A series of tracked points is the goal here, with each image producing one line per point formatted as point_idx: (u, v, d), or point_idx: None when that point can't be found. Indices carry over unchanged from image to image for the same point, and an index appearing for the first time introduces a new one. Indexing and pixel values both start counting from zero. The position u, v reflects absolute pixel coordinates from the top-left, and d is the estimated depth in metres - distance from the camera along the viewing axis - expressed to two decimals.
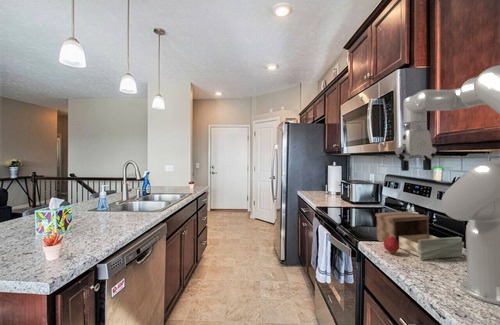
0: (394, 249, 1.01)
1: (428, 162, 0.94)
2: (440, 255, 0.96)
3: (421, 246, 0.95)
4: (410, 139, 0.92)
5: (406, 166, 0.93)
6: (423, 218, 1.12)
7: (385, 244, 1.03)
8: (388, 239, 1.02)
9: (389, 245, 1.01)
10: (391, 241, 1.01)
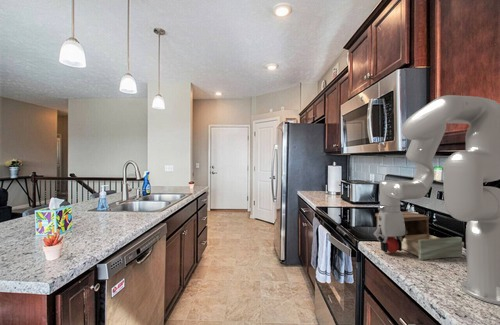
0: (394, 249, 1.01)
1: (399, 243, 1.03)
2: (440, 255, 0.96)
3: (421, 246, 0.95)
4: (385, 222, 1.00)
5: (385, 248, 1.02)
6: (423, 218, 1.12)
7: None
8: (388, 239, 1.02)
9: (389, 245, 1.01)
10: (391, 241, 1.01)
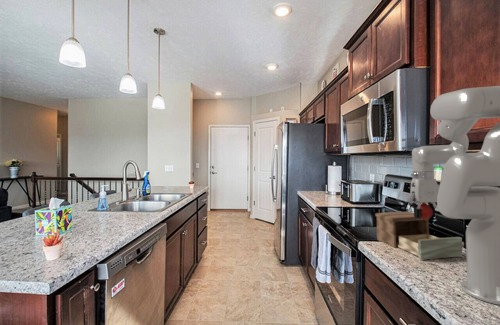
0: (428, 215, 1.01)
1: None
2: (440, 255, 0.96)
3: (421, 246, 0.95)
4: (419, 188, 1.01)
5: (419, 214, 1.02)
6: None
7: None
8: (422, 206, 1.03)
9: (423, 211, 1.01)
10: (425, 207, 1.02)
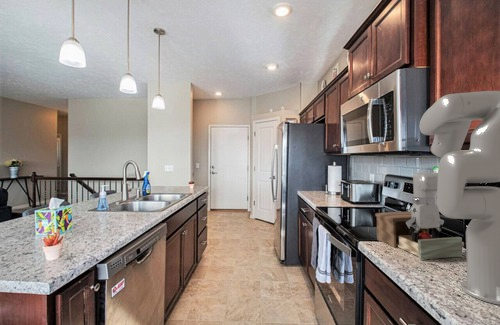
0: None
1: (436, 233, 1.03)
2: (440, 255, 0.96)
3: (421, 246, 0.95)
4: (420, 214, 1.01)
5: (416, 238, 1.02)
6: None
7: None
8: (423, 235, 1.02)
9: None
10: (425, 237, 1.01)
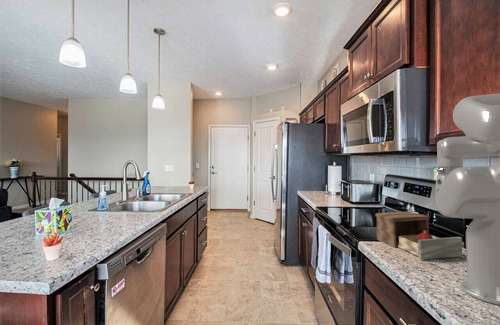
0: None
1: None
2: (440, 255, 0.96)
3: (421, 246, 0.95)
4: None
5: None
6: (423, 218, 1.12)
7: None
8: (423, 235, 1.02)
9: None
10: (426, 237, 1.01)
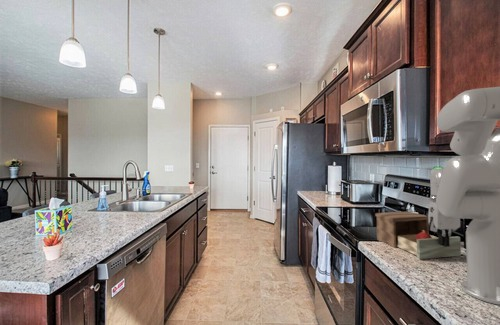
0: None
1: None
2: (438, 254, 0.96)
3: (420, 245, 0.96)
4: (438, 214, 0.92)
5: (444, 242, 0.94)
6: (423, 218, 1.12)
7: None
8: (422, 235, 1.03)
9: None
10: (424, 237, 1.02)
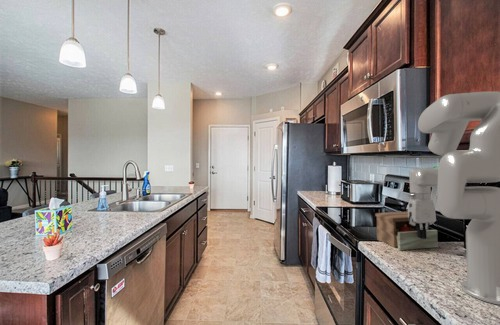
0: None
1: None
2: (417, 245, 1.07)
3: (400, 238, 1.06)
4: (416, 209, 1.03)
5: (422, 235, 1.04)
6: None
7: None
8: (403, 228, 1.13)
9: None
10: (405, 230, 1.12)
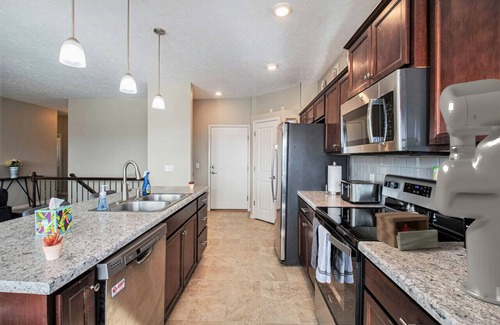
0: None
1: None
2: (417, 245, 1.07)
3: (400, 238, 1.06)
4: None
5: None
6: (423, 218, 1.12)
7: None
8: (403, 228, 1.13)
9: None
10: (406, 230, 1.12)
